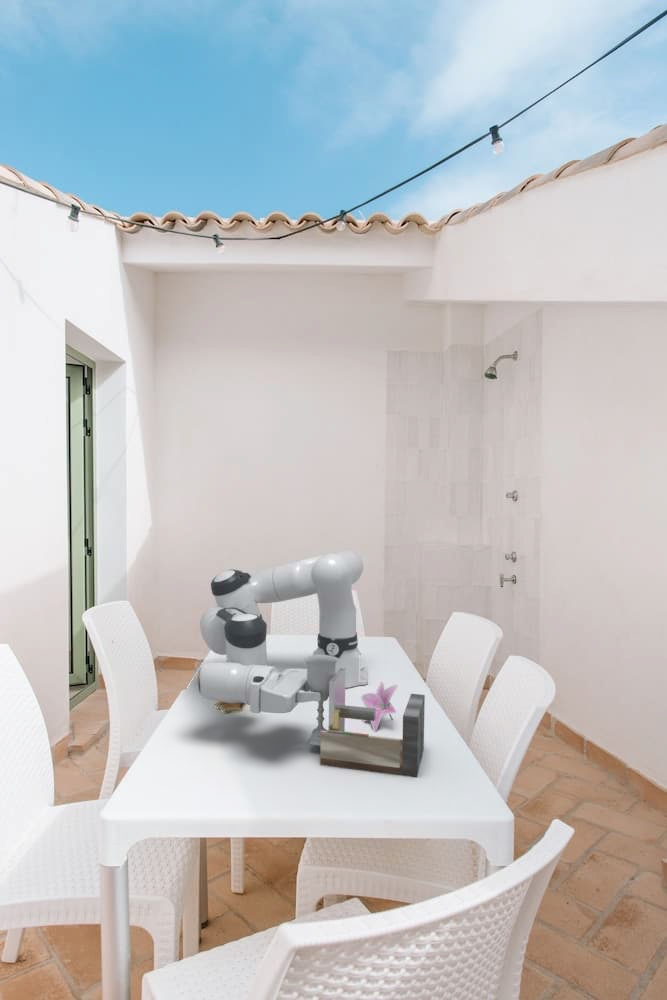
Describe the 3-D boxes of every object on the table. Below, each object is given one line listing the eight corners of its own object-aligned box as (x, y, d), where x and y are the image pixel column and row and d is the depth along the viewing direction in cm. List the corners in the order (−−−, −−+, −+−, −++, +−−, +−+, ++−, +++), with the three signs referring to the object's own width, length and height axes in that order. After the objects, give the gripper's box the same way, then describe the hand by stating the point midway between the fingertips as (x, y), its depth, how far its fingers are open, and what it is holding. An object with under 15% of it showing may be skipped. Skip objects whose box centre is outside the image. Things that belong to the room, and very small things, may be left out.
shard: (249, 700, 164) (249, 693, 164) (263, 708, 158) (263, 701, 158) (213, 708, 158) (213, 701, 158) (226, 717, 152) (226, 710, 152)
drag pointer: (334, 752, 126) (334, 709, 126) (339, 752, 126) (340, 710, 126) (332, 754, 125) (333, 711, 125) (337, 755, 125) (338, 712, 125)
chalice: (336, 734, 135) (337, 654, 135) (337, 747, 129) (338, 663, 128) (303, 734, 135) (305, 654, 135) (303, 747, 128) (304, 663, 128)
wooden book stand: (336, 738, 138) (337, 686, 138) (423, 748, 133) (424, 694, 133) (320, 765, 124) (321, 707, 124) (416, 777, 120) (417, 717, 119)
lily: (361, 716, 156) (349, 687, 152) (403, 698, 156) (391, 670, 152) (370, 748, 144) (357, 719, 141) (416, 730, 144) (403, 700, 141)
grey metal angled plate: (339, 733, 136) (340, 667, 136) (378, 738, 134) (379, 671, 134) (326, 754, 125) (327, 682, 125) (369, 759, 123) (370, 686, 123)
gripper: (280, 685, 145) (336, 691, 142) (248, 715, 125) (311, 723, 122) (281, 659, 145) (336, 664, 142) (248, 685, 125) (312, 692, 122)
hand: (324, 692), depth 131 cm, fingers closed on chalice, 5 cm apart
